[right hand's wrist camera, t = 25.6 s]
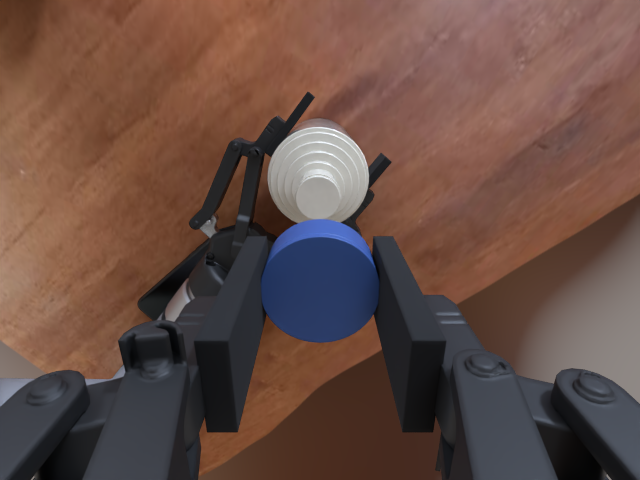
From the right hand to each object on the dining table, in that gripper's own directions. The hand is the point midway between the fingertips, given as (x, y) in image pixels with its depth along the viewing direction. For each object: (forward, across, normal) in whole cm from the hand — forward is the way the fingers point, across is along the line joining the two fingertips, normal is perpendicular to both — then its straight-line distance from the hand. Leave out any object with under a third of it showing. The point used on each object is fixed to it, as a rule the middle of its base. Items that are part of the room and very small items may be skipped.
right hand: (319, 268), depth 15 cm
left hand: (+23, +3, +4) cm, 23 cm away
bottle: (+29, 0, 0) cm, 29 cm away
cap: (-2, 0, 0) cm, 2 cm away
